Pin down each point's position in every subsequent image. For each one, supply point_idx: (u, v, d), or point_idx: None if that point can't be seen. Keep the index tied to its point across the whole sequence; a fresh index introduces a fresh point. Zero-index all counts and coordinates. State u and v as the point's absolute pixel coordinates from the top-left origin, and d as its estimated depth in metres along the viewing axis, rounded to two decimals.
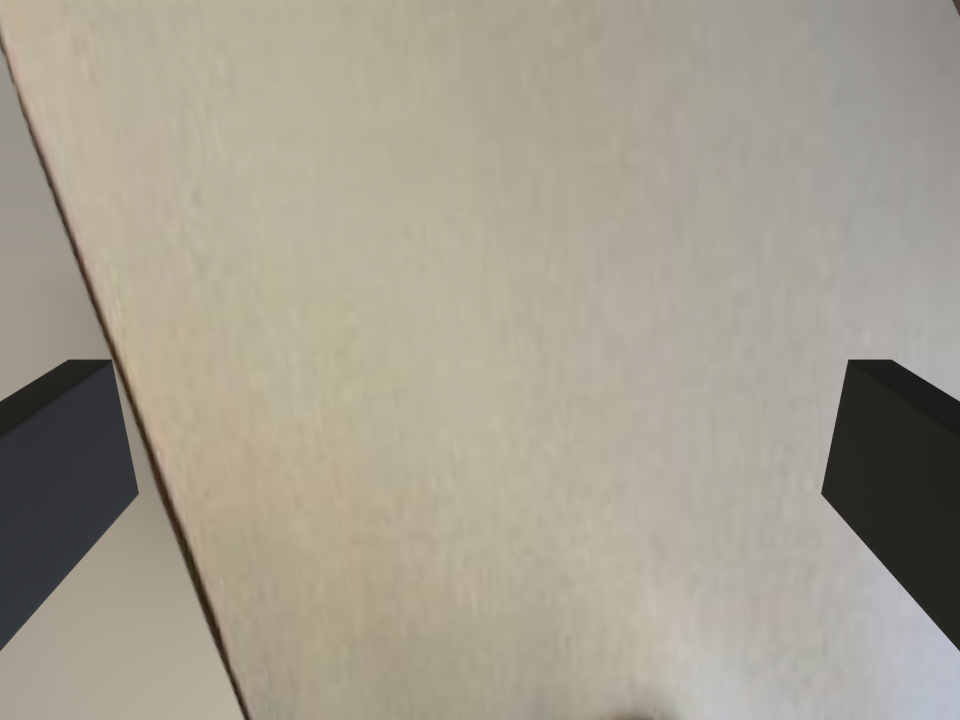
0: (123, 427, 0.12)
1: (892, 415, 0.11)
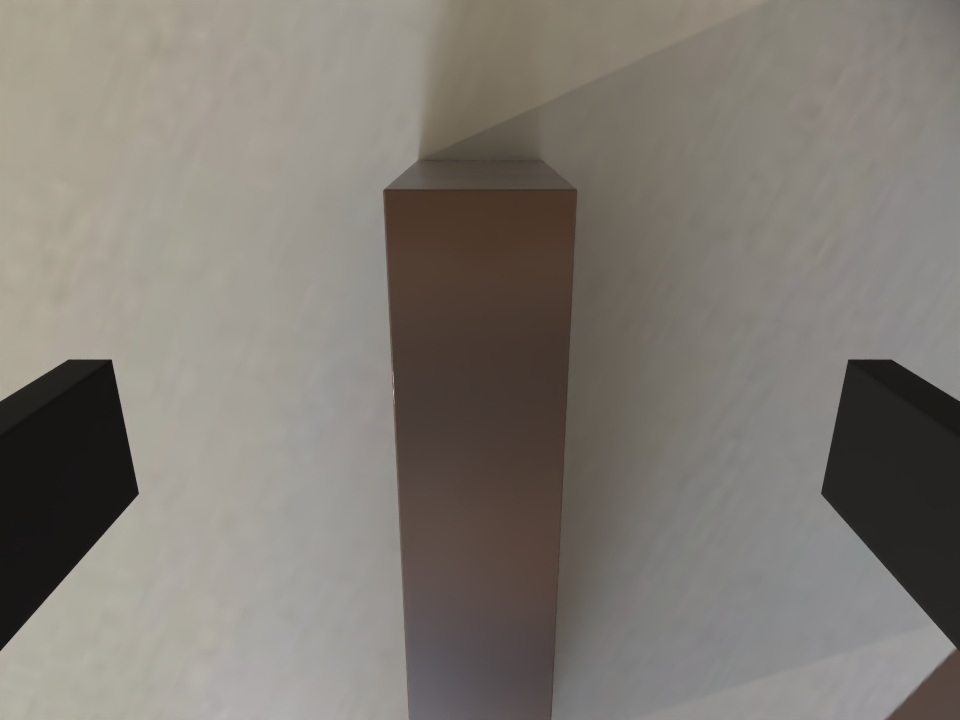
0: (122, 428, 0.12)
1: (892, 415, 0.11)
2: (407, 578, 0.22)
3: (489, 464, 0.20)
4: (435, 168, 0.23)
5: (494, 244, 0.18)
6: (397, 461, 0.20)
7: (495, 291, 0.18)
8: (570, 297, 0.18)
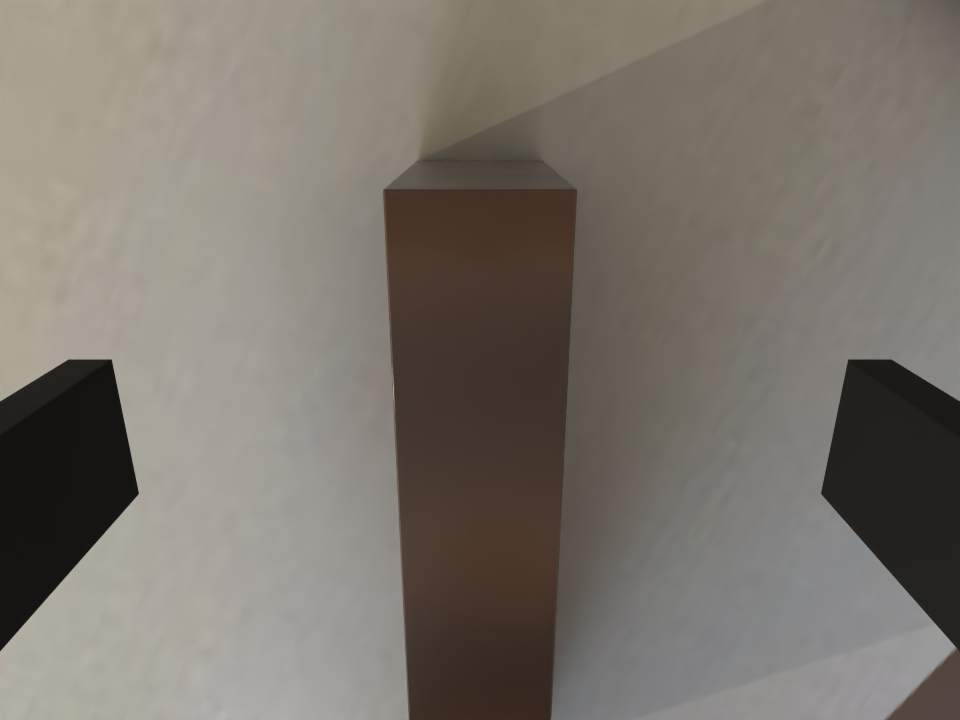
0: (122, 428, 0.12)
1: (892, 415, 0.11)
2: (407, 578, 0.22)
3: (489, 464, 0.20)
4: (435, 168, 0.23)
5: (494, 244, 0.18)
6: (397, 461, 0.20)
7: (494, 290, 0.18)
8: (570, 297, 0.18)
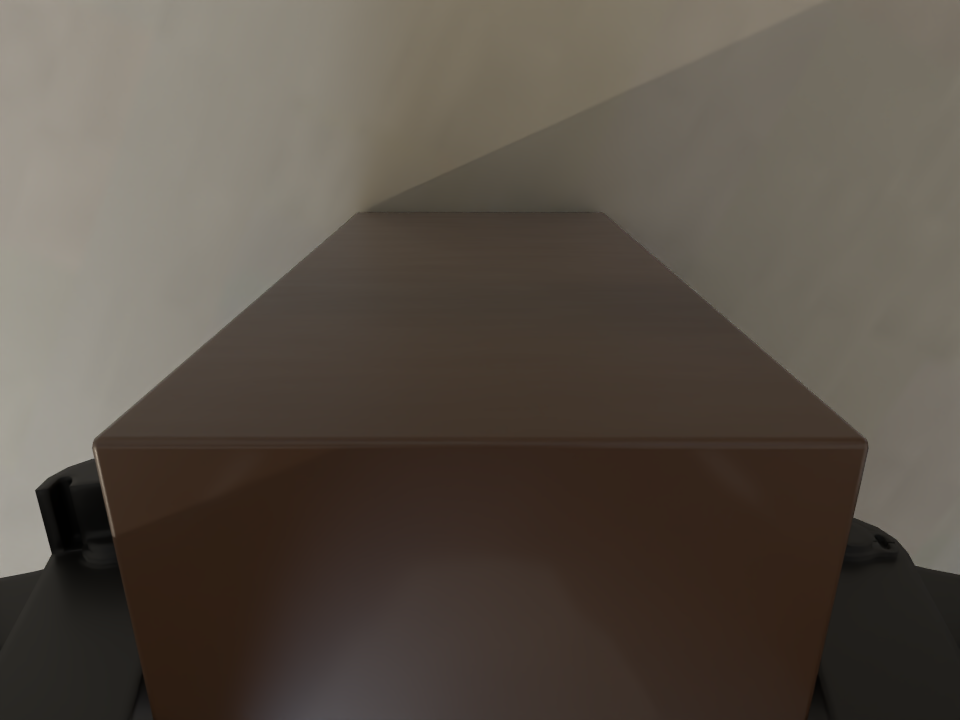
0: None
1: None
2: None
3: None
4: (378, 247, 0.10)
5: (533, 620, 0.05)
6: None
7: None
8: None
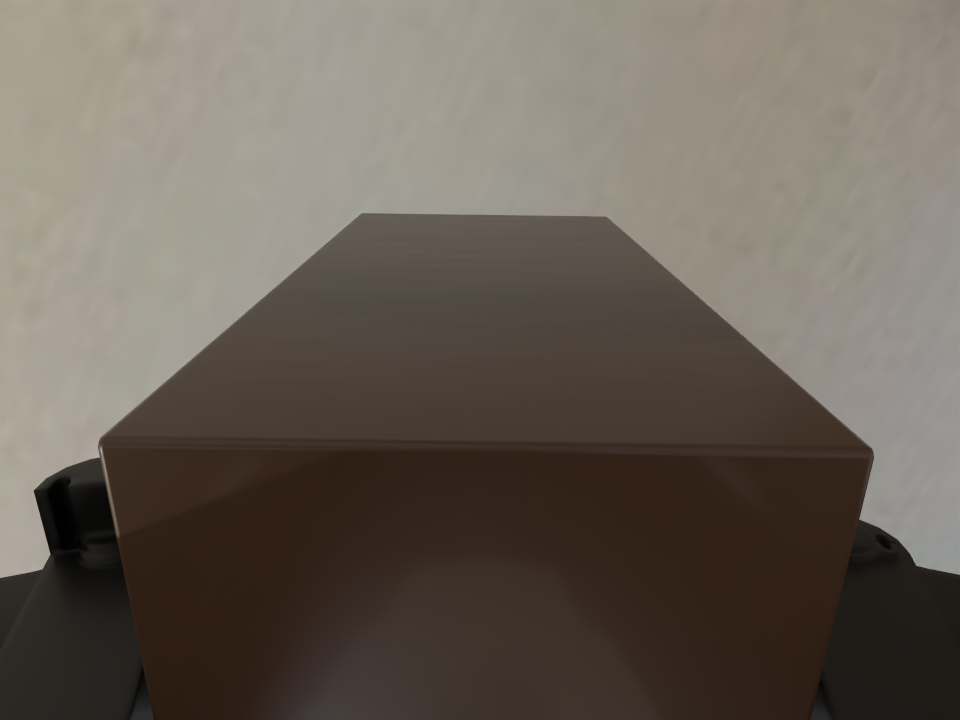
0: None
1: None
2: None
3: None
4: (382, 249, 0.10)
5: (536, 624, 0.05)
6: None
7: None
8: None
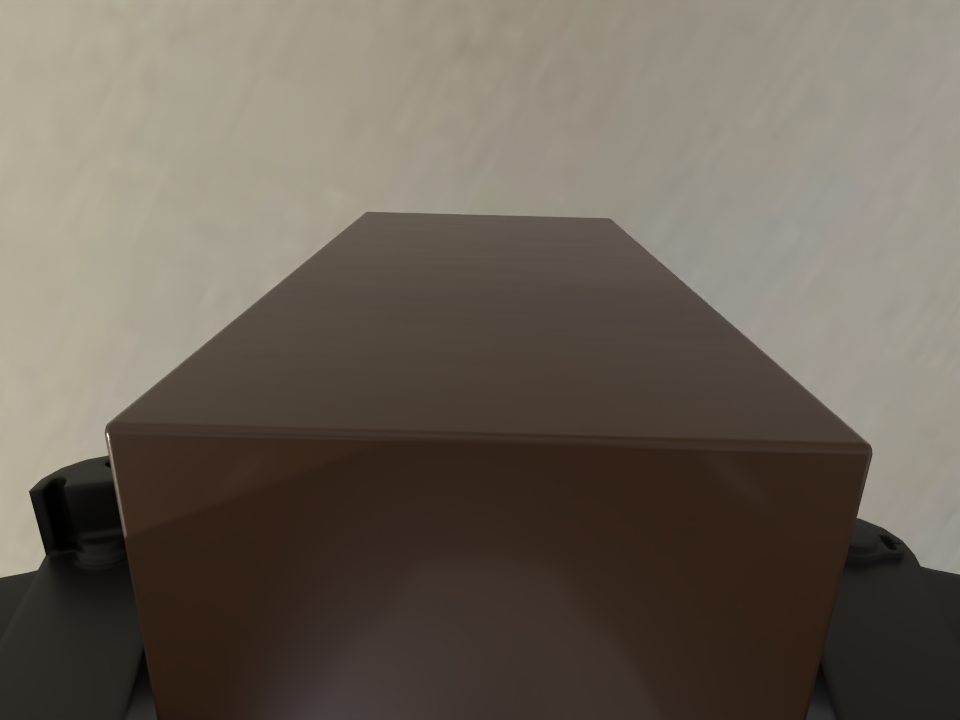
0: None
1: None
2: None
3: None
4: (386, 246, 0.10)
5: (536, 616, 0.05)
6: None
7: None
8: None
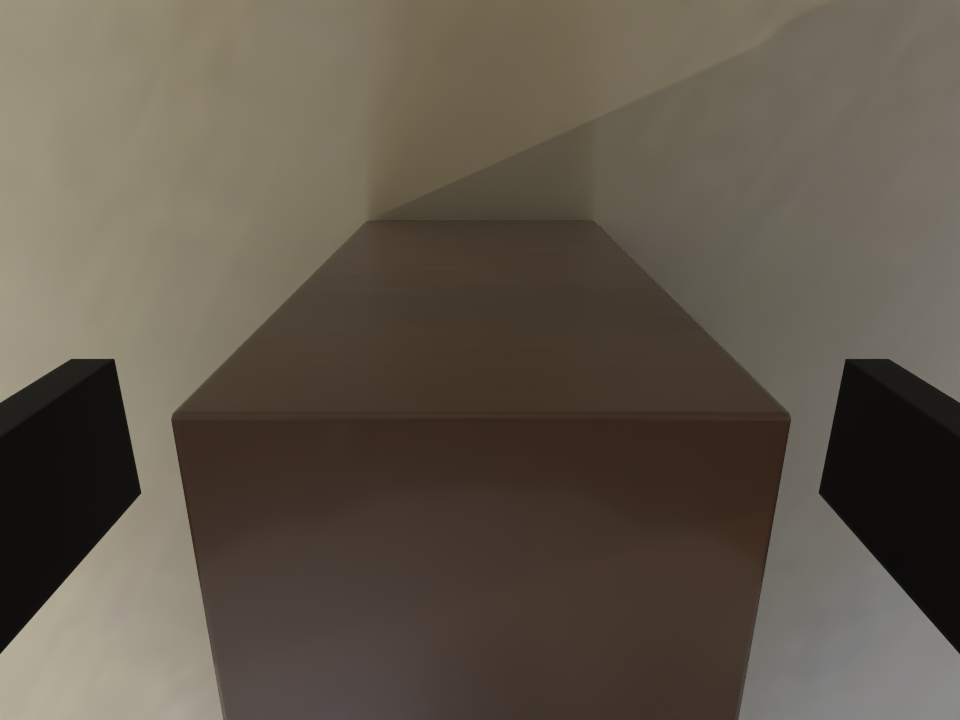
0: (125, 427, 0.12)
1: (889, 414, 0.11)
2: None
3: None
4: (388, 254, 0.11)
5: (523, 562, 0.06)
6: None
7: (523, 676, 0.06)
8: (741, 691, 0.06)
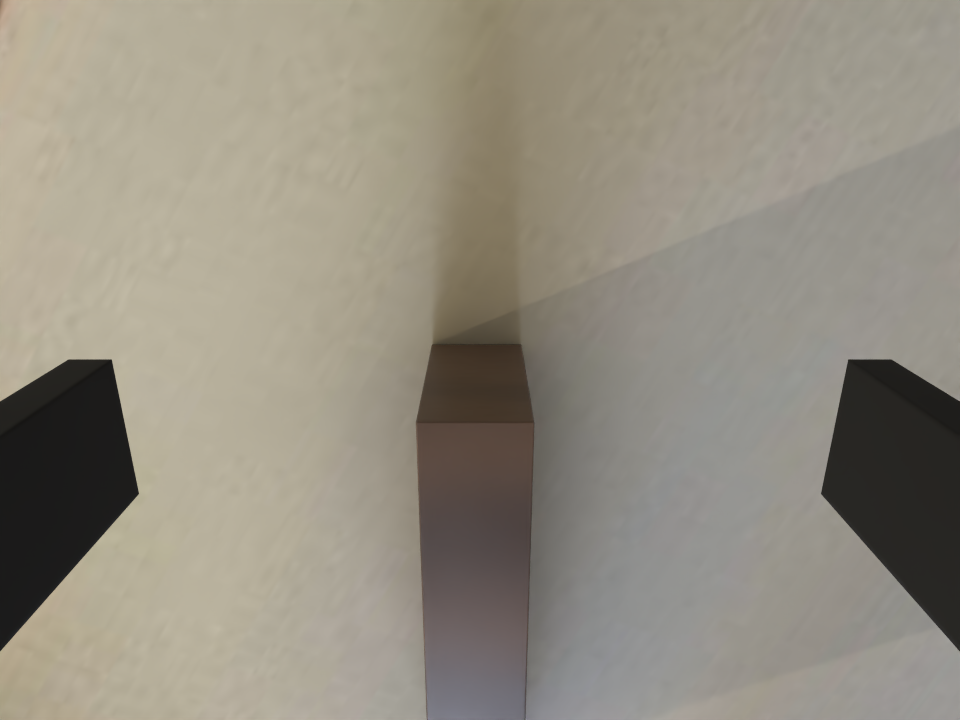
0: (123, 427, 0.12)
1: (892, 415, 0.11)
2: (427, 648, 0.33)
3: (481, 578, 0.31)
4: (445, 368, 0.34)
5: (483, 452, 0.29)
6: (422, 576, 0.31)
7: (484, 478, 0.29)
8: (531, 481, 0.30)
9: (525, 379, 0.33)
